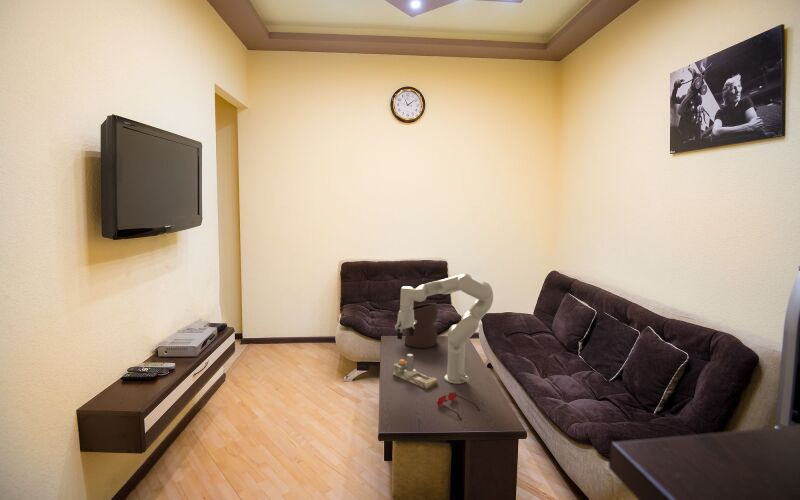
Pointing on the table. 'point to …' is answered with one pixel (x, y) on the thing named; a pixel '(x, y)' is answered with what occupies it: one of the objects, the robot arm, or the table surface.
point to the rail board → (414, 376)
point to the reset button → (402, 362)
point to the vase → (423, 327)
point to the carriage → (410, 365)
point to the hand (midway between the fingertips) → (405, 337)
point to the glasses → (451, 397)
